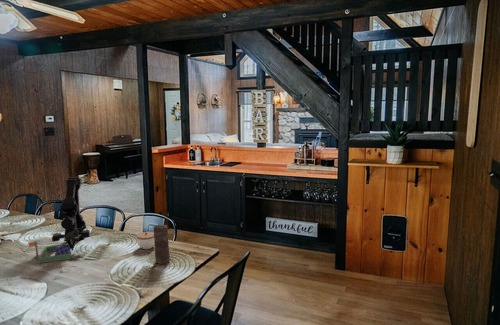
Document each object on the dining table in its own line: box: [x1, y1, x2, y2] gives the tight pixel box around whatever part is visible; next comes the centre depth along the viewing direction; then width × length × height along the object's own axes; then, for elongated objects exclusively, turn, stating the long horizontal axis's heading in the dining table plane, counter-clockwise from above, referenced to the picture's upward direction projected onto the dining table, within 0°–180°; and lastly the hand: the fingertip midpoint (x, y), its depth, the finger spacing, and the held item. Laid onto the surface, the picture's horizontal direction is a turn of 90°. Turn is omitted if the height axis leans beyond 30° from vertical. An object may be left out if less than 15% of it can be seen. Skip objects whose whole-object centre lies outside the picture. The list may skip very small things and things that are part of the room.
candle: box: [152, 224, 171, 265], centre depth 182 cm, size 8×7×20 cm
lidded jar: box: [136, 231, 155, 250], centre depth 203 cm, size 11×11×9 cm
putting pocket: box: [27, 241, 73, 264], centre depth 192 cm, size 21×18×9 cm
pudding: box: [50, 244, 76, 256], centre depth 194 cm, size 12×12×5 cm
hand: (72, 249), depth 196 cm, fingers closed
